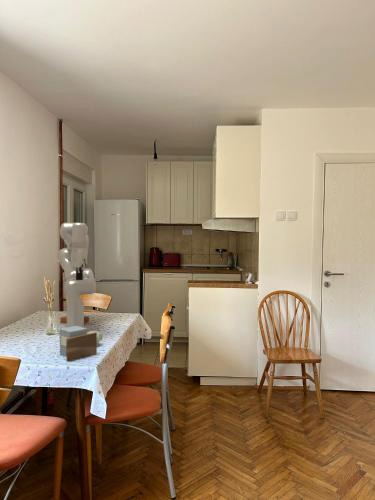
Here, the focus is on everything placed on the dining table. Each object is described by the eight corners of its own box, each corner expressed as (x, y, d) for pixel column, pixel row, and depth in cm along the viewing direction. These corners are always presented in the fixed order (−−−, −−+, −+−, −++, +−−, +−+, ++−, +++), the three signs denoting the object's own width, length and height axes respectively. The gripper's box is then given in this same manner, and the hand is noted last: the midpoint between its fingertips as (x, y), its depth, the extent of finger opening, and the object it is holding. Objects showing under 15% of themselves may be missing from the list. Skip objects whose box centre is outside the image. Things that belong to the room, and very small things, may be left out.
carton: (66, 321, 245) (66, 314, 245) (89, 322, 242) (89, 315, 242) (60, 324, 237) (60, 317, 236) (83, 324, 234) (83, 318, 234)
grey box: (59, 354, 172) (59, 329, 171) (76, 350, 179) (76, 325, 178) (69, 358, 166) (69, 332, 165) (87, 353, 173) (87, 328, 172)
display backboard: (66, 360, 162) (65, 338, 162) (94, 353, 173) (94, 332, 173) (67, 361, 161) (67, 339, 161) (96, 353, 172) (96, 332, 172)
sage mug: (84, 346, 185) (84, 332, 185) (98, 342, 192) (98, 329, 191) (91, 348, 181) (91, 334, 181) (105, 344, 188) (105, 331, 187)
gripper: (66, 245, 198) (66, 279, 199) (79, 246, 187) (80, 282, 188) (78, 245, 203) (78, 278, 204) (92, 246, 193) (92, 280, 194)
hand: (79, 280), depth 196 cm, fingers closed
